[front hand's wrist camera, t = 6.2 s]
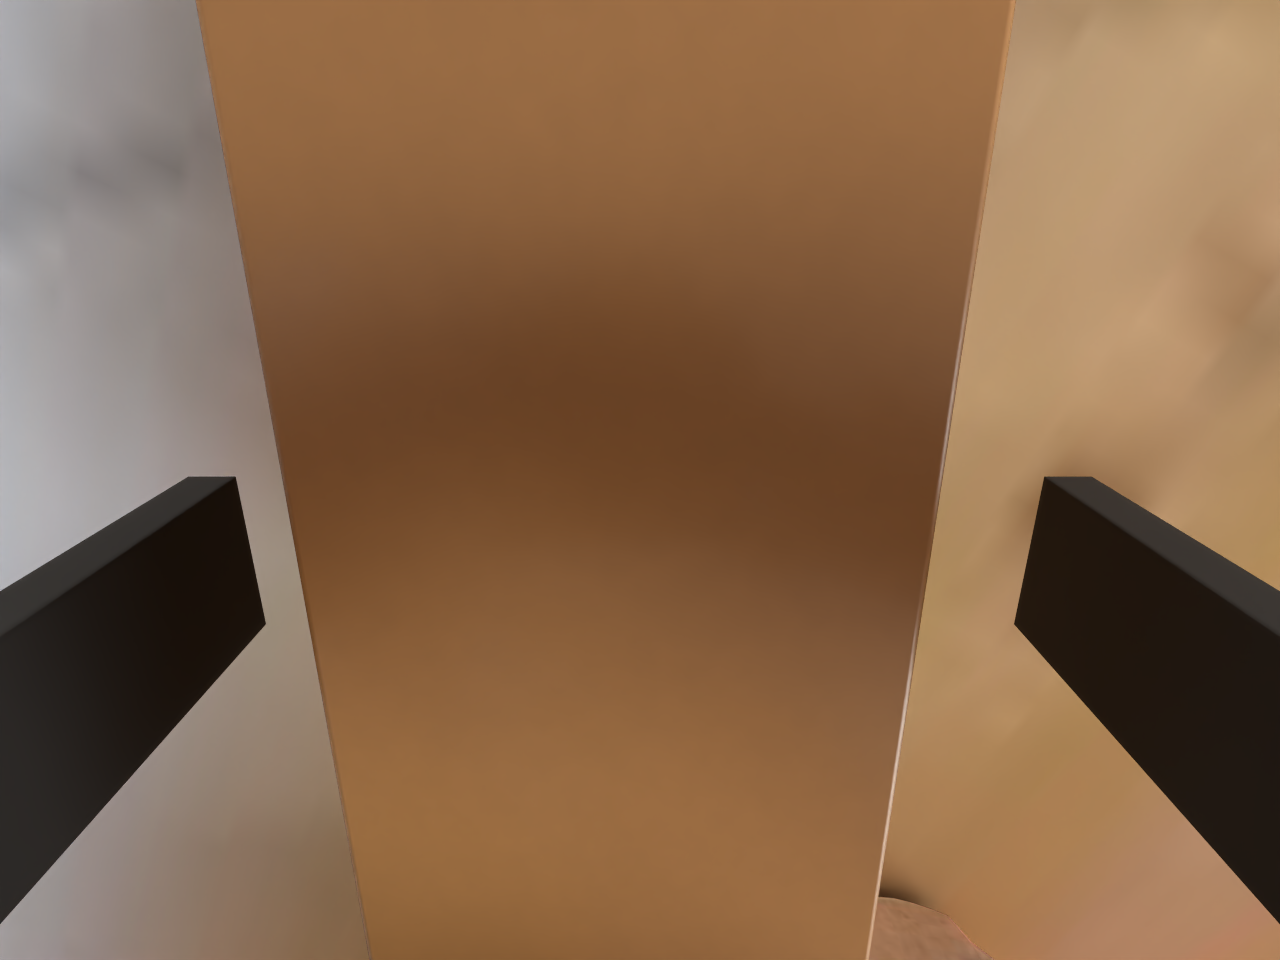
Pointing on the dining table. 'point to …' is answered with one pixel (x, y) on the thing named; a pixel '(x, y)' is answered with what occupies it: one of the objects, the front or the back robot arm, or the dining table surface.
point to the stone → (918, 934)
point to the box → (611, 441)
